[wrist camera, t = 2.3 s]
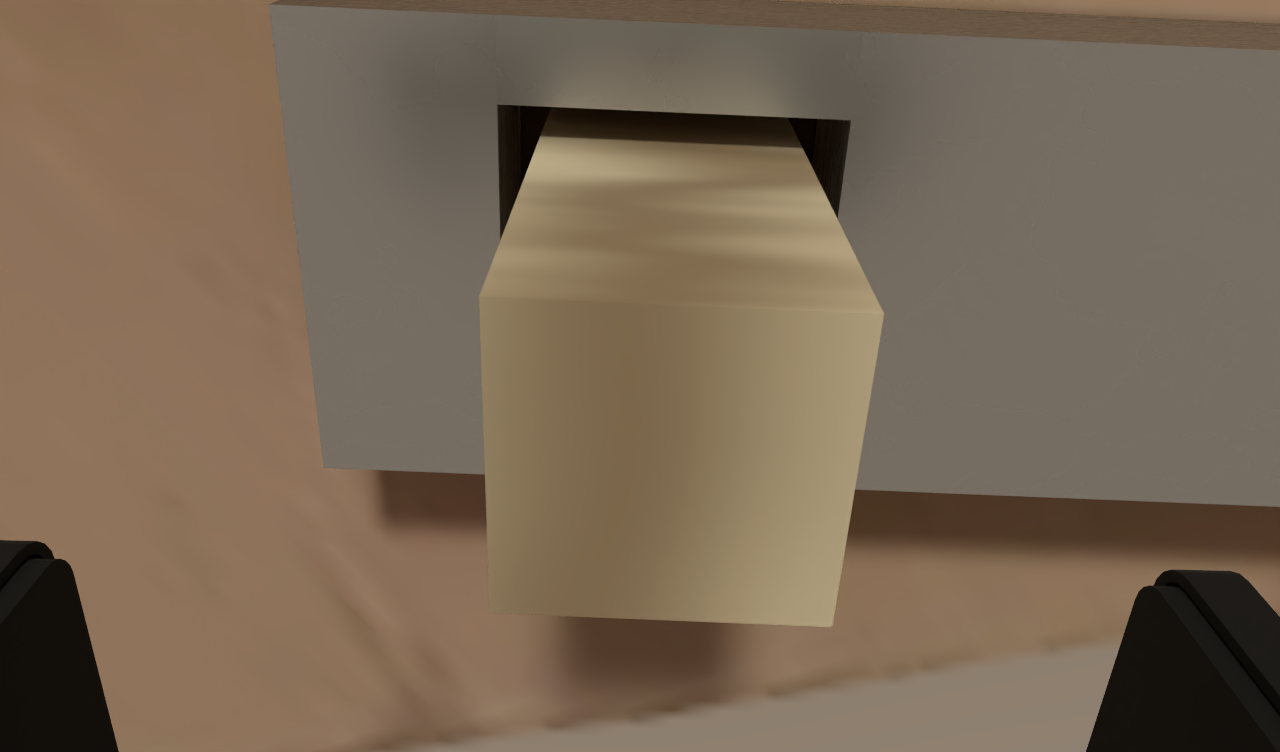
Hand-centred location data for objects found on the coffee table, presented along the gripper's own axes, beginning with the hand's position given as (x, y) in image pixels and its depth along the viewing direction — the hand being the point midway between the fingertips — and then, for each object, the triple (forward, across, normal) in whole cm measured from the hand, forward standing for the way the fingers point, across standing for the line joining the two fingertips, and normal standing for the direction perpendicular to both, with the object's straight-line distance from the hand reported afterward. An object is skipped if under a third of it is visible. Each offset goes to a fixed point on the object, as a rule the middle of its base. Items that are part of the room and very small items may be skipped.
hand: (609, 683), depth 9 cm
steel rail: (+12, -6, -1) cm, 13 cm away
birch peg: (+12, -1, -1) cm, 12 cm away
